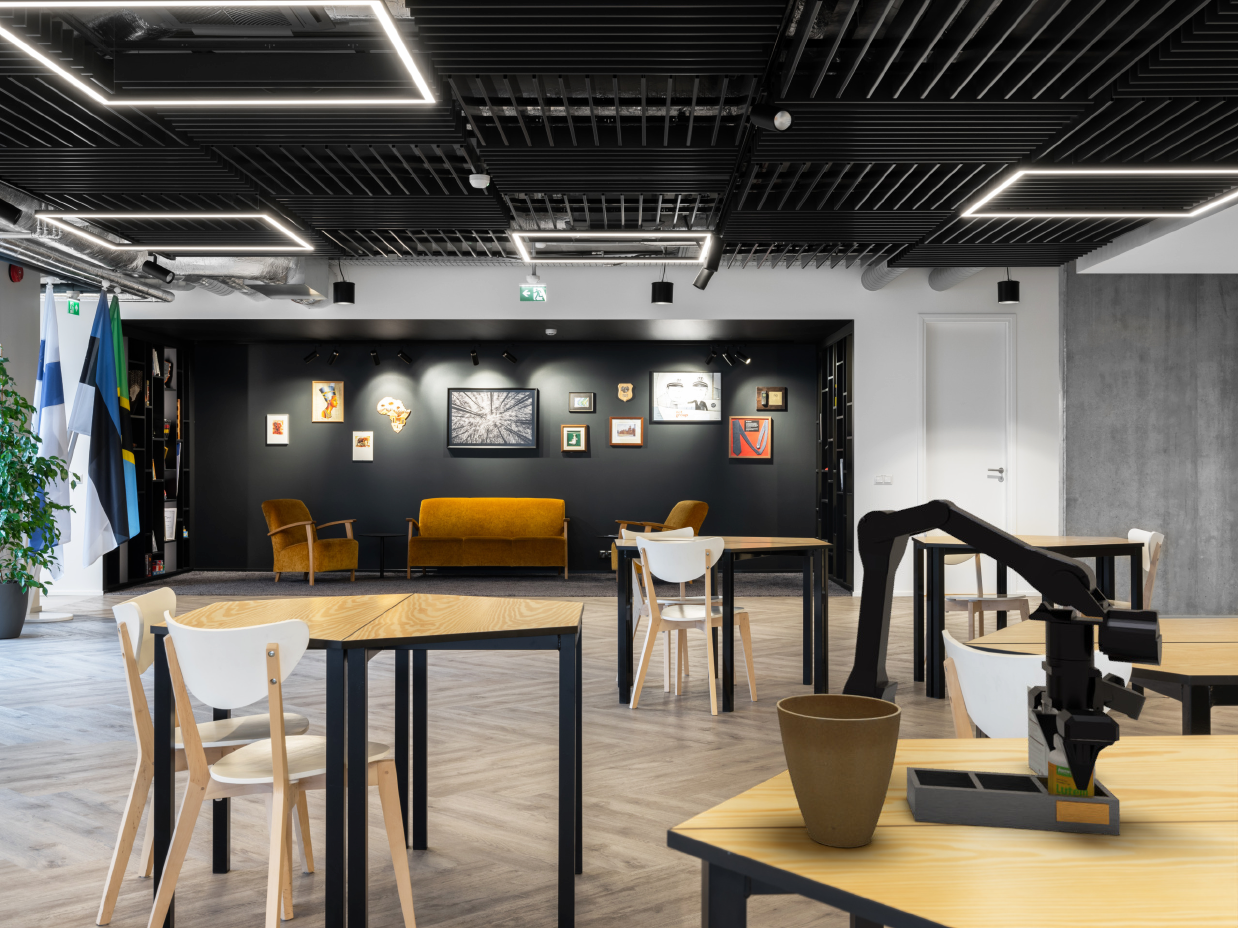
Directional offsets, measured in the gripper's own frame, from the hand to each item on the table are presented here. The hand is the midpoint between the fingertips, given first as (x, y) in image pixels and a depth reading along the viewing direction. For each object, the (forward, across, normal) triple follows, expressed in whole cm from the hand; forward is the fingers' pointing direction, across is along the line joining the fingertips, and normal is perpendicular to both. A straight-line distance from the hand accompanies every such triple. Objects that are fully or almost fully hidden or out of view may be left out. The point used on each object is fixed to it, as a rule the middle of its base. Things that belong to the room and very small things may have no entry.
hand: (1070, 778), depth 119 cm
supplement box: (+6, +21, -4) cm, 22 cm away
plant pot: (+6, -12, +30) cm, 33 cm away
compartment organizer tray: (+5, 0, +8) cm, 9 cm away
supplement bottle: (+5, 0, 0) cm, 5 cm away
